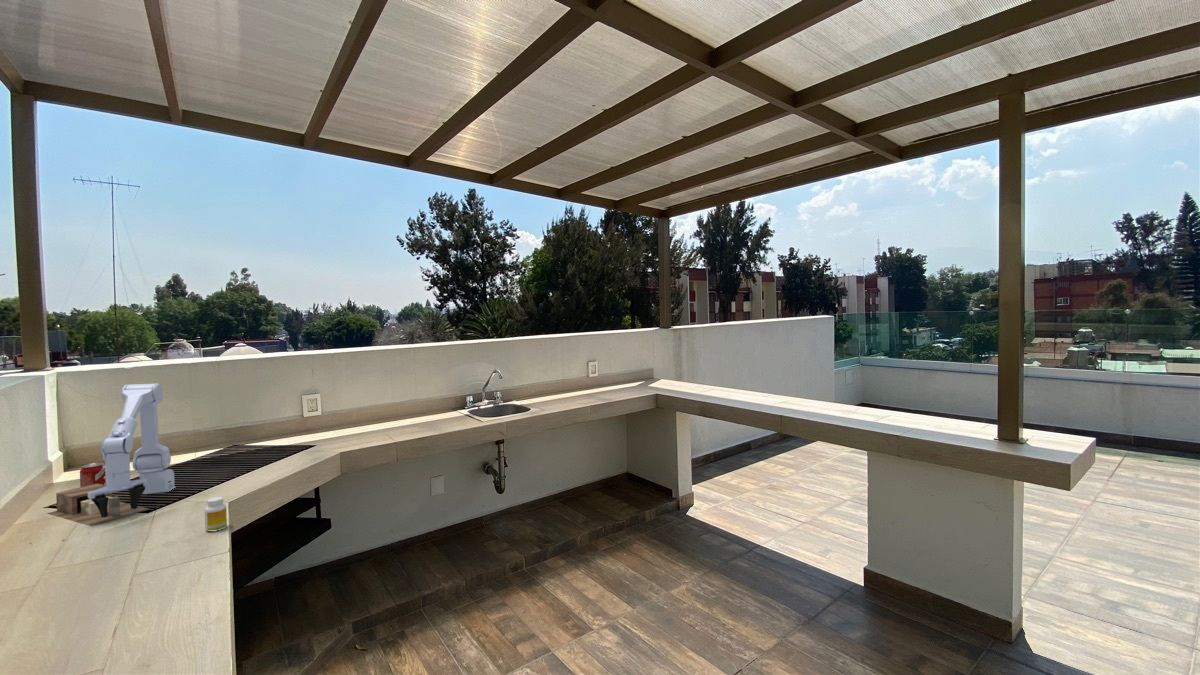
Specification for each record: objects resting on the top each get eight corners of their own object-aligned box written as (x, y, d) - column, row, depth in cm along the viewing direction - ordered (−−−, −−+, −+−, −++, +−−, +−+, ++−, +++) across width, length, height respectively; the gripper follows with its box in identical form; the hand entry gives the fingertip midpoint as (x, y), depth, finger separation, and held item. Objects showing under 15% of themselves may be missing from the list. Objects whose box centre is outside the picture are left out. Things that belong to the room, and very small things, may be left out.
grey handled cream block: (81, 513, 163) (80, 495, 163) (104, 506, 168) (103, 489, 168) (104, 519, 158) (103, 501, 158) (127, 512, 164) (127, 495, 163)
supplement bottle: (230, 527, 154) (229, 497, 154) (211, 533, 150) (210, 503, 149) (221, 524, 157) (220, 494, 156) (201, 530, 152) (200, 500, 152)
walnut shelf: (46, 516, 163) (45, 495, 162) (105, 500, 177) (104, 481, 176) (91, 529, 152) (91, 506, 152) (150, 511, 166) (149, 491, 166)
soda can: (89, 499, 178) (88, 467, 177) (75, 498, 179) (74, 466, 178) (111, 493, 184) (110, 462, 184) (97, 491, 186) (96, 461, 185)
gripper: (95, 480, 151) (97, 522, 152) (151, 467, 165) (153, 506, 165) (83, 477, 154) (84, 519, 154) (140, 465, 167) (141, 503, 168)
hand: (119, 512), depth 160 cm, fingers open, 7 cm apart
